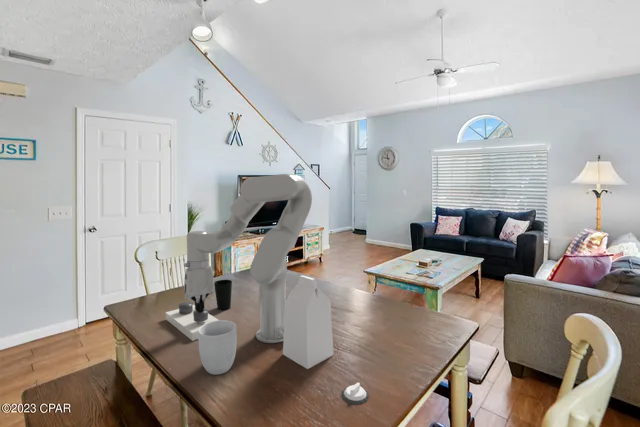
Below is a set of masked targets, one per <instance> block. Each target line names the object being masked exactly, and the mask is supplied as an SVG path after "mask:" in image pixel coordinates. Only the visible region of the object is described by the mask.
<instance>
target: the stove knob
mask: <svg viewBox="0 0 640 427" xmlns="http://www.w3.org/2000/svg"><path fill="white" fill-rule="evenodd" d="M341 398H342V399H343V401H345V403H348V404H351V405H354V406H355V405H362V404H365V403H366V402H367V401H368V400H369V398H370V395H369V393H368V391H367V390H366V389H364V387H362V386H361V383H360V382H359V381H358V382H356V383H355V384H353V385H349V386H347V387H346V388H344V389H343V390H342V391H341Z"/></svg>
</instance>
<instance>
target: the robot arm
mask: <svg viewBox="0 0 640 427" xmlns="http://www.w3.org/2000/svg"><path fill="white" fill-rule="evenodd" d="M239 192H240V195H239V196H238V197H237V198H236V199H235V200H234V201H233V203H232V204H231V205H230V207H229V210H230V212H231V213H230V215H229V218H228V219H227V221H226V222H225V224H224V225H223V226H222V227H221V228H220V229H218V230H216V231H215V230H214V231H213V232H210V233H207V232H206V231H205V230H193V231H189V232H187V234H186V257H187V260H186V262H185V263H183V267H184V268H185V274H184V279H183V282H184V283H183V291H184V299H185V300H192V301H194V305H195V310H196V311H197V312H199V313H201V312H204V309H205V302H206V300H207V297H208V296H210V295H212V294H213V293H214V292H215V286H214V283H215V279H214V273H213V269H212V266H211V265H210V258H209V257H210V256H209V254H217V253H220V252H222V251H223V250H226V249H228V248H230V247H231V246H233V244H234V243H235V242H236V241H237V240H238V239H239V238H240V236H241V235H242V234H243V233H244V231H245V230H246V228H247V226H248V225H249V222H250V221H251V220H252V218H253V217H254V216H255V215H257V213H258V212H259V211H260V209H261V208H262V207H263V206H264V205H265V204H266V203H267V202H278V201H287V203H286V206H285V207H284V209H283V211H282V213H281V216H280V217H279V220H278V222H277V224H276V226H275V227H273V228H271V229H270V230H268V231H267V232H266V233H265V234H264V236H263V238H262V240H261V242H260V243H259V246H258V248H257V250H256V253H255V255H254V257H253V260H252V262H251V264H250V267H249V273H250V277H251V278H252V280H253V282H254V283H256V284H258V285H259V286H258V287H259V296H258V297H259V329H258V330H257V331H256V333H255V338H256V339H257V340H258V341H259V342H261V343H266V344H276V343H281V342H283V341H284V314H285V300H286V298H287V296H286V295H287V294H286V293H287V290H286V289H287V286H286V285H287V283H286V282H287V270H288V267H287V266H288V264H287V263H288V262H287V259H286V257H287V256H288V254H289V252H290V251H291V250H292V249H294V247H295V245H296V243H297V240H298V238H299V235H300V233H301V231H302V230H303V227H304V226H305V222H306V220H307V217H308V216H309V213H310V210H311V207H312V203H313V202H312V201H313V195H312V194H313V193H312V191H311V188H310V185H309V183H307V181H306V180H305V179H304V178H303V177H302V176H299V175H297V174H295V173H294V174H293V173H281V174H280V173H279V174H273V175H263V176H251V177H248V178H246V179H245V180H244V181H243V182H242V183H241V185H240V189H239Z"/></svg>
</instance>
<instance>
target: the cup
mask: <svg viewBox="0 0 640 427" xmlns="http://www.w3.org/2000/svg"><path fill="white" fill-rule="evenodd" d="M232 290H233V281H232V280H230V279H219V280H216V281H214V293H215V299H216V306H217V307H216V308H217V311H222V312H223V311H228V310H230V309H231V304H232Z"/></svg>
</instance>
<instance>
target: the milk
mask: <svg viewBox="0 0 640 427" xmlns="http://www.w3.org/2000/svg"><path fill="white" fill-rule="evenodd" d="M331 303H332V302H331V299H330V298H329V297H328V296H327V295H326V294H325V293H324V292H323V291H321V289H320V288H319V287H318V284H317V280H316V278H314V277H310V276H307V275H300V276H299V278H298V280H297V283H296V285H295V286H294V288H292V289H291V291H290V293H288V295H287V296H286V300H285V314H284V341H282V342H283V345H282V347H283V348H282V355H283V356H284V357H287V358H288V359H289V360H291V361H294V362H295V363H297V364H298V365H300V366H302V367H303V368H305V369H307V370H309V369H310V368H312V367H314V366H315V365H316V366H317V365H318V364H320V363H321V362H323V361H325V360H327V359H328V358H331V357H332V356H334V341H333V340H334V338H333V323H332V322H333V320H332V307H331V306H332V304H331Z"/></svg>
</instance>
